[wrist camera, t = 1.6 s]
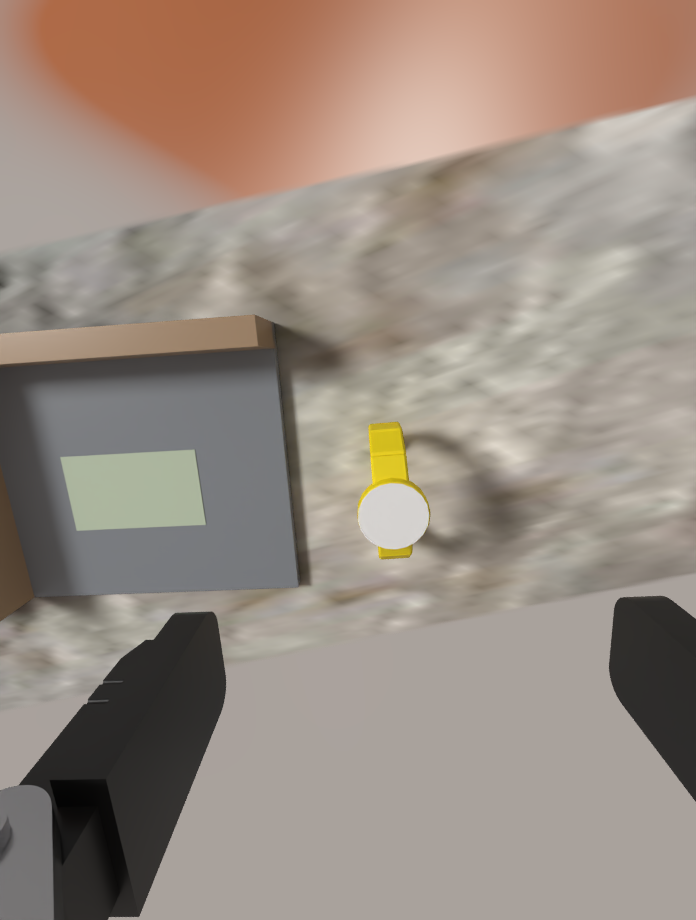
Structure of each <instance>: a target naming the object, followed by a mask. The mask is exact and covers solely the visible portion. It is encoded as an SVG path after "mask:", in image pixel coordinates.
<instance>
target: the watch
mask: <svg viewBox="0 0 696 920" xmlns="http://www.w3.org/2000/svg"><path fill="white" fill-rule="evenodd" d="M368 427H369V442H370V455H371V468H372V481H373V484H371V485H370V486H369V487H368V488H367V489H366V490H365V491H364V492H363V494H362V496H361V498H360V500H359V503H358V515H357V519H358V523H359V527H360V529H361V531H362V532H363V534H364V535H365V537H366V538H367V539H368V540H369V541H371V542H372V543H373V544H374V545H377V546H378V552H379V558H380V559H396V558H409V557H410V556H411V554H412V545H413V543H415V542H416V541H418V540H419V539H420V538H421V537H422V535H423V534H424V533H425V531H426V529H427V527H428V525H429V521H430V509H429V504H428V501H427V499H426V497H425V495H424V494H423V492H422V490H421V489H420V488H419V487H418V486H416V485H415V484H414V483H413V482H411V481H409V476H408V467H407V457H406V450H405V444H404V438H403V432H402V428H401V426H400V423H398V422H389V423H378V424H370V425H369V426H368Z"/></svg>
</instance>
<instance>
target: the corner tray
mask: <svg viewBox="0 0 696 920" xmlns="http://www.w3.org/2000/svg"><path fill="white" fill-rule="evenodd" d="M299 583H300V577H299V567H298V557H297V547H296V537H295V527H294V517H293V507H292V497H291V487H290V477H289V467H288V457H287V447H286V437H285V427H284V417H283V407H282V397H281V387H280V377H279V367H278V357H277V347H276V337H275V327H274V323H273V322H271V321H268V320H266V319H264V318H261V317H259V316H256V315H244V316H231V317H217V318H204V319H190V320H177V321H164V322H150V323H137V324H124V325H110V326H97V327H83V328H70V329H57V330H43V331H30V332H16V333H3V334H0V621H1V620H3V619H4V618H6V617H7V616H8V615H10V614H11V613H13V612H14V611H16V610H17V609H18V608H20V607H21V606H23V605H24V604H25V603H27V602H28V601H30V600H31V599H32V598H34V597H50V596H77V595H104V594H131V593H158V592H185V591H212V590H239V589H266V588H293V587H299Z"/></svg>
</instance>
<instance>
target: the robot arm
mask: <svg viewBox="0 0 696 920" xmlns="http://www.w3.org/2000/svg"><path fill="white" fill-rule="evenodd" d="M609 672H610V678H611V682H612V685H613V688H614V691H615V693H616V695H617V697H618V698H619V700H620V702H621V703H622V705H623V706H624V707H625V709H626V710H627V711H628V713H629V714H630V715H631V717H632V718H633V719H634V721H635V722H636V723H637V725H638V726H639V727H640V728H641V730H642V731H643V732H644V734H645V735H646V736H647V738H648V739H649V740H650V742H651V743H652V744H653V746H654V747H655V748H656V749H657V751H658V752H659V754H660V755H661V756H662V758H663V759H664V760H665V762H666V763H667V764H668V765H669V767H670V768H671V770H672V771H673V772H674V774H675V775H676V776H677V777H678V779H679V780H680V781H681V783H682V784H683V785H684V787H685V788H686V789H687V791H688V792H689V793H690V795H691V796H692V797H693V799H694V800H695V801H696V619H695V618H694V617H692V616H691V615H690V614H689V613H687V612H686V611H685V610H684V609H682V608H681V607H680V606H678V605H677V604H676V603H674V602H673V601H672V600H670V599H669V598H667V597H664V596H647V597H623V598H620V599H619V600H617V602H616V604H615V608H614V617H613V629H612V639H611V650H610V662H609ZM225 692H226V675H225V668H224V661H223V655H222V648H221V641H220V635H219V628H218V622H217V618H216V615H215V614H214V613H213V612H188V613H175V614H173V615H172V616H171V617H170V619H169V620H168V621H167V623H166V624H165V625H164V627H163V628H162V630H161V631H160V632H159V634H158V635H157V636H156V638H155V639H154V640H145V641H144V642H143V643H141V644H140V645H139V646H137V647H136V648H134V649H133V650H132V651H130V652H129V653H128V654H126V655H125V656H124V657H122V658H121V659H120V660H119V662H118V663H117V664H116V665H115V667H114V668H113V669H112V670H111V672H110V673H109V674H108V675H107V676H106V678H105V679H104V680H103V685H99V686H98V688H97V689H96V690H95V691H94V693H93V694H92V695H91V696H90V697H89V699H88V703H87V704H84V705H83V706H82V707H81V709H80V710H79V711H78V712H77V714H76V715H75V716H74V717H73V719H72V720H71V721H70V722H69V724H68V725H67V726H66V727H65V729H64V730H63V731H62V732H61V733H60V735H59V736H58V737H57V738H56V740H55V741H54V742H53V743H52V745H51V746H50V747H49V748H48V750H47V751H46V752H45V753H44V754H43V756H42V757H41V758H40V759H39V761H38V762H37V763H36V764H35V766H34V767H33V768H32V769H31V770H30V772H29V773H28V774H27V775H26V777H25V778H24V779H23V780H22V782H21V783H20V784H19V785H18V786H14V787H9V788H6V789H3V790H0V920H108V918H109V917H139V916H140V913H141V911H142V908H143V906H144V903H145V901H146V898H147V896H148V893H149V891H150V888H151V886H152V883H153V881H154V878H155V876H156V873H157V871H158V868H159V866H160V863H161V861H162V858H163V856H164V853H165V851H166V848H167V846H168V843H169V841H170V838H171V836H172V833H173V831H174V828H175V826H176V823H177V821H178V818H179V816H180V813H181V811H182V808H183V806H184V804H185V801H186V799H187V796H188V794H189V791H190V788H191V786H192V784H193V781H194V779H195V776H196V773H197V771H198V768H199V766H200V764H201V761H202V758H203V756H204V754H205V751H206V748H207V746H208V744H209V741H210V738H211V736H212V734H213V731H214V729H215V726H216V723H217V721H218V718H219V716H220V714H221V711H222V708H223V704H224V699H225Z"/></svg>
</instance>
